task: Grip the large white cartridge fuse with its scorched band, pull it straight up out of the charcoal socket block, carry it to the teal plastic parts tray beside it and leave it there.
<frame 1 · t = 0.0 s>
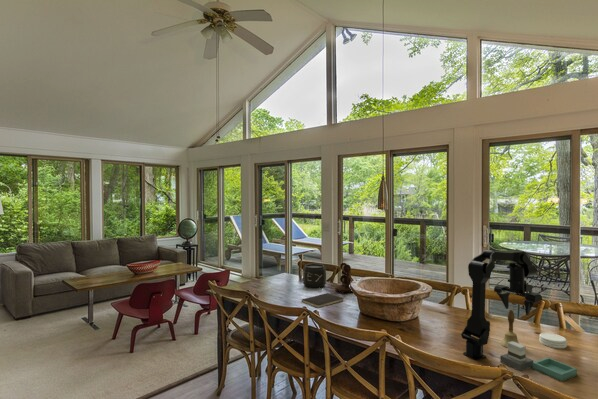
hand: (516, 311, 153), 15 cm above the table, tool pointing down, fingers open, 9 cm apart
parts tray: (554, 372, 127), on the table
fuse: (516, 354, 134), in the socket block
hardcover book: (322, 302, 217), on the table
coaster: (552, 344, 152), on the table
hand bell: (510, 345, 151), on the table
lettered dark canister: (314, 286, 255), on the table
socket block: (516, 364, 134), on the table
brown carved figurine: (345, 291, 241), on the table
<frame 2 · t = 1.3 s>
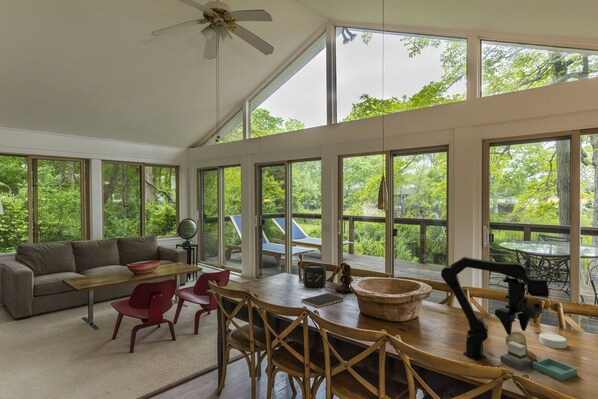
hand: (516, 332, 134), 13 cm above the table, tool pointing down, fingers open, 9 cm apart
hand bell: (515, 340, 147), point 4 cm above the table, touching parts tray, socket block
everything else where it was.
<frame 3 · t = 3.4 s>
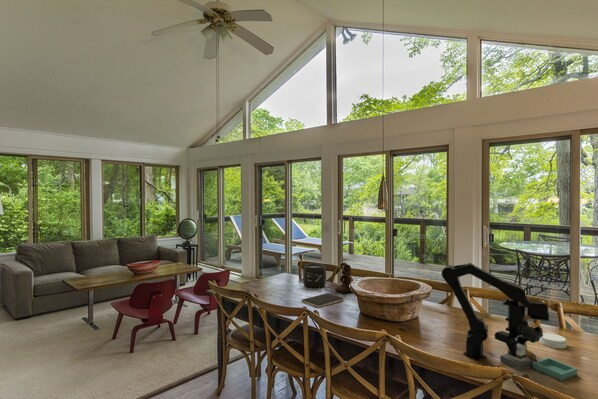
hand: (516, 355, 134), 4 cm above the table, tool pointing down, fingers closed on fuse, 3 cm apart
fuse: (516, 354, 134), in the socket block, touching gripper
everything else where it was.
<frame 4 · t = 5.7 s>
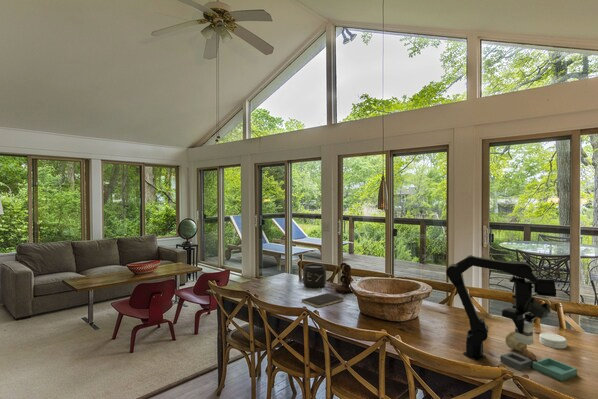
hand: (524, 333, 132), 13 cm above the table, tool pointing down, fingers closed on fuse, 3 cm apart
fuse: (523, 331, 132), point 14 cm above the table, touching gripper
everything else where it was.
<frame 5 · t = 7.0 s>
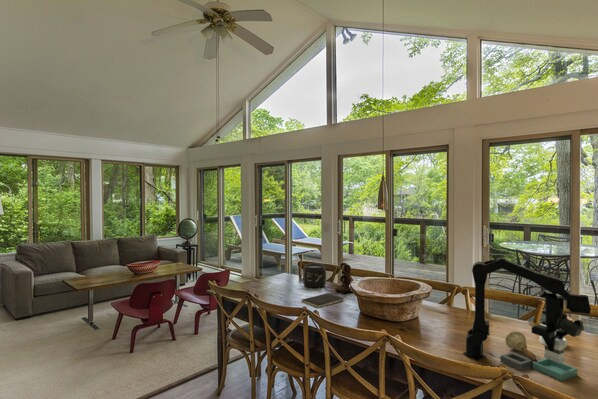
hand: (554, 350, 127), 8 cm above the table, tool pointing down, fingers closed on fuse, 3 cm apart
fuse: (554, 349, 127), point 9 cm above the table, touching gripper
everything else where it was.
when the fingers open (5 cm above the table, at t = 8.2 s): fuse stays where it is, resting on parts tray.
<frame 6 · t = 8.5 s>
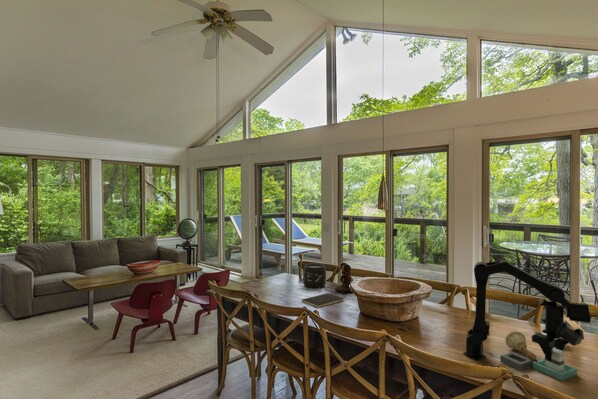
hand: (554, 358, 127), 5 cm above the table, tool pointing down, fingers open, 6 cm apart
fuse: (554, 360, 127), in the parts tray, point 5 cm above the table
everything else where it was.
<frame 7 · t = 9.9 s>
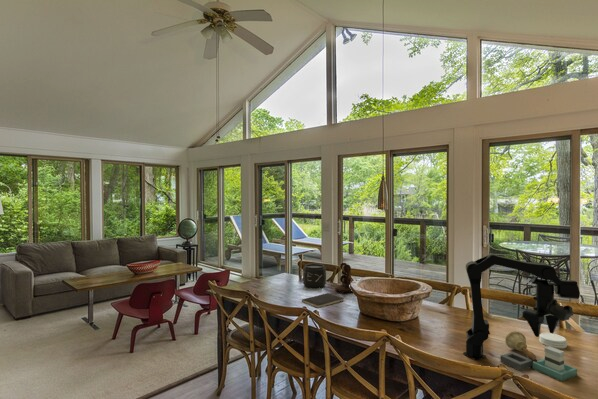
hand: (544, 334, 131), 13 cm above the table, tool pointing down, fingers open, 9 cm apart
nothing on the table moved.
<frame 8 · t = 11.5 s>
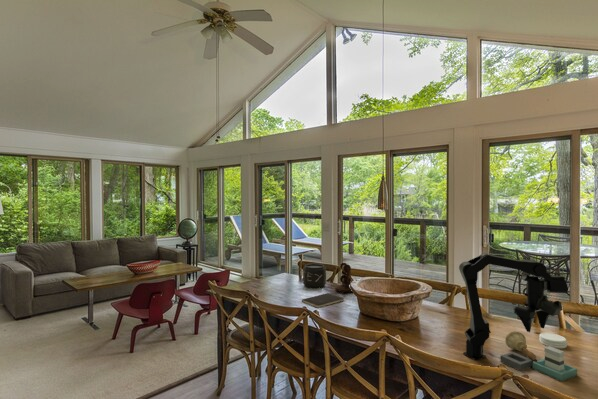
hand: (535, 329, 136), 13 cm above the table, tool pointing down, fingers open, 9 cm apart
nothing on the table moved.
at the end: fuse inside the target area on the parts tray (0.0 cm from its centre), point 4.6 cm above the parts tray's base; the gripper is holding nothing; fuse moved 12.2 cm from its start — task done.
